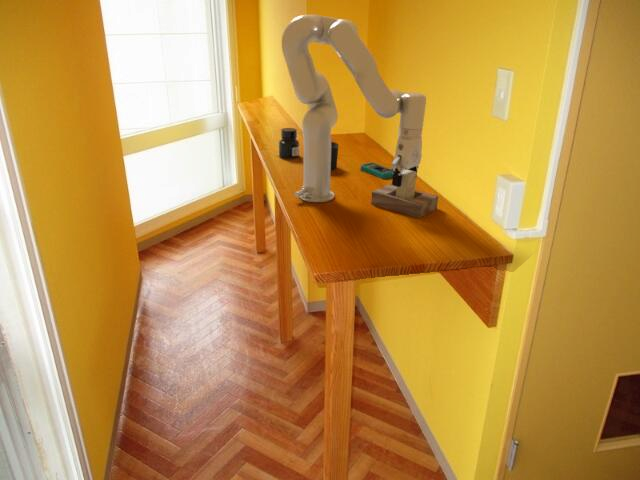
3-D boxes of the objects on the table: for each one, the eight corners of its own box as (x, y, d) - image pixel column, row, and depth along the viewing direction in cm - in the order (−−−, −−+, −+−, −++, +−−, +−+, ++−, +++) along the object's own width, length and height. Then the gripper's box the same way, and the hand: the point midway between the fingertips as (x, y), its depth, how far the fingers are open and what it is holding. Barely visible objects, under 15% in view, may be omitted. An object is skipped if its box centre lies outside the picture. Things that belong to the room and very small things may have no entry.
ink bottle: (298, 159, 234) (298, 132, 229) (278, 159, 234) (277, 131, 229) (299, 153, 242) (299, 127, 237) (280, 153, 242) (279, 126, 238)
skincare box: (405, 210, 181) (409, 175, 176) (394, 207, 183) (397, 173, 178) (413, 204, 186) (417, 171, 181) (402, 202, 188) (405, 168, 183)
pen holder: (311, 165, 226) (311, 142, 221) (331, 163, 229) (332, 140, 225) (320, 172, 218) (320, 148, 214) (341, 169, 221) (342, 146, 217)
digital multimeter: (383, 180, 211) (384, 173, 210) (359, 170, 222) (360, 164, 221) (397, 177, 215) (397, 170, 214) (372, 168, 226) (373, 161, 225)
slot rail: (419, 218, 174) (420, 205, 173) (371, 204, 185) (372, 191, 183) (436, 208, 183) (438, 196, 181) (390, 195, 194) (391, 183, 192)
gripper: (406, 139, 165) (399, 191, 173) (433, 130, 178) (426, 179, 185) (385, 134, 170) (380, 185, 177) (413, 126, 182) (407, 174, 189)
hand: (404, 182), depth 181 cm, fingers open, 9 cm apart
